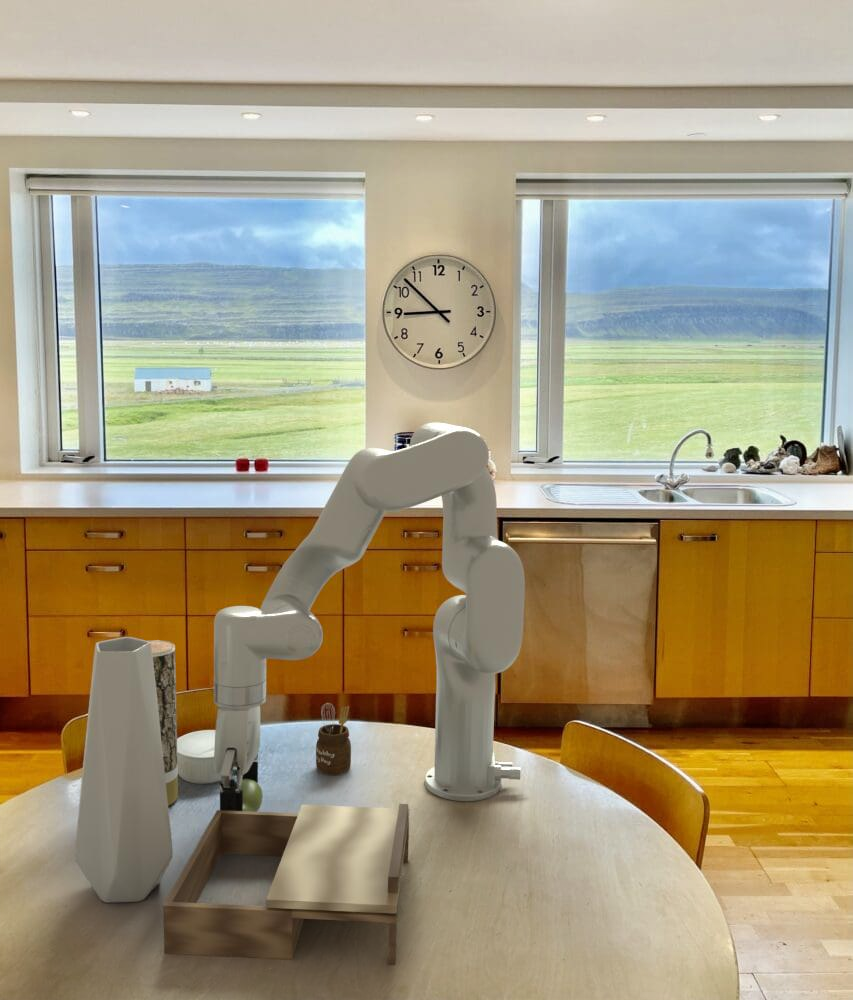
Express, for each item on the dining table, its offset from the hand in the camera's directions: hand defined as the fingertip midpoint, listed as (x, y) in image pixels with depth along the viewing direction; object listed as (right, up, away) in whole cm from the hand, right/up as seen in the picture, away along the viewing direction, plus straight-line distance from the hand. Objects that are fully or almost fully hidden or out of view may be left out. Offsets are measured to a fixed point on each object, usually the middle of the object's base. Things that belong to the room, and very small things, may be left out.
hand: (239, 800), depth 137 cm
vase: (-12, -6, -18) cm, 22 cm away
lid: (+18, 0, -21) cm, 27 cm away
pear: (0, -3, 0) cm, 3 cm away
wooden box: (+11, -6, -20) cm, 24 cm away
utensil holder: (+12, -1, +19) cm, 23 cm away
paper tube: (-14, -2, +6) cm, 16 cm away
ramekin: (-9, -1, +17) cm, 19 cm away
